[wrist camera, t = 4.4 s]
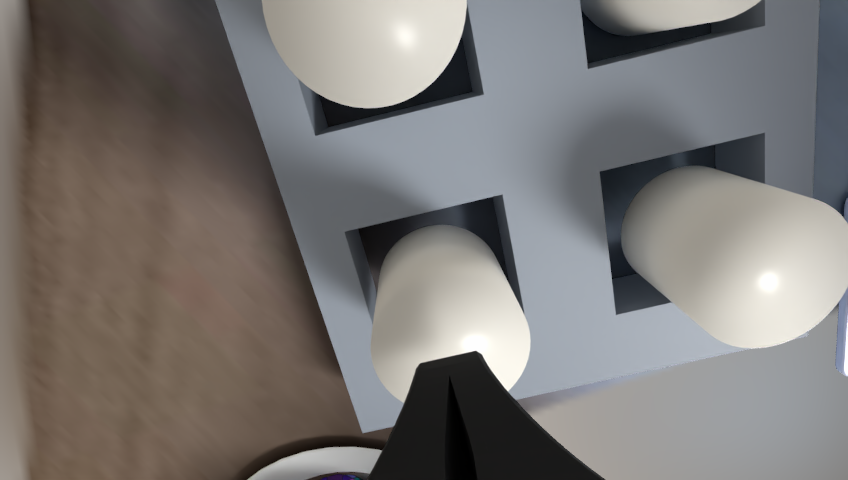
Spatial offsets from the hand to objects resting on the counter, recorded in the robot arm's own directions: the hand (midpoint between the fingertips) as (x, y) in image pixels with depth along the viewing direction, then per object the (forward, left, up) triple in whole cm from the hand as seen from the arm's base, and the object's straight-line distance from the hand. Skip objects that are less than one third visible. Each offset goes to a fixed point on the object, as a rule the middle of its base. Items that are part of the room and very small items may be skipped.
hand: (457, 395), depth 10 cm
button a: (-8, 0, -6) cm, 10 cm away
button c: (0, 0, -6) cm, 6 cm away
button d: (0, -8, -6) cm, 10 cm away
